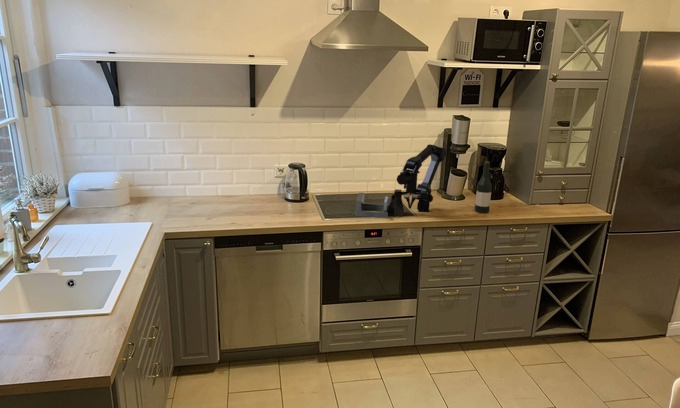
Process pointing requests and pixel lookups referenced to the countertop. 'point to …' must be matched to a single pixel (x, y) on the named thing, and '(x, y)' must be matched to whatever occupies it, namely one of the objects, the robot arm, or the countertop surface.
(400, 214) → the phone stand
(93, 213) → the countertop surface
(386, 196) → the paddle
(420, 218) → the countertop surface
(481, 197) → the wine bottle
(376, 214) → the gauge frame
